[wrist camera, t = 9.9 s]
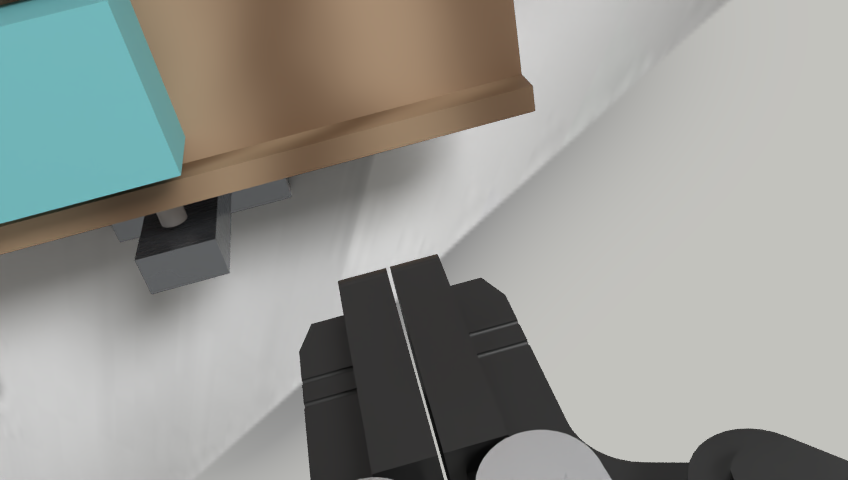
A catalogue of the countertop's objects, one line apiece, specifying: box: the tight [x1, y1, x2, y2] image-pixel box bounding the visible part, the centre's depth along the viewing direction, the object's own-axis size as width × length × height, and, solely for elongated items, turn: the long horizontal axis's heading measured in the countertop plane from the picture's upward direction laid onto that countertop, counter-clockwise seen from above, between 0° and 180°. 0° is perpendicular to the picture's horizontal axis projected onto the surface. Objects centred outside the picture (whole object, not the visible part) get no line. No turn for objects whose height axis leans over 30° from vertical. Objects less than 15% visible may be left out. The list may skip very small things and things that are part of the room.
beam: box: [0, 0, 535, 255], centre depth 24 cm, size 28×12×2 cm, turn 101°
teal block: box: [0, 0, 185, 224], centre depth 23 cm, size 7×6×3 cm
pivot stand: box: [112, 178, 291, 294], centre depth 27 cm, size 8×18×8 cm, turn 11°
